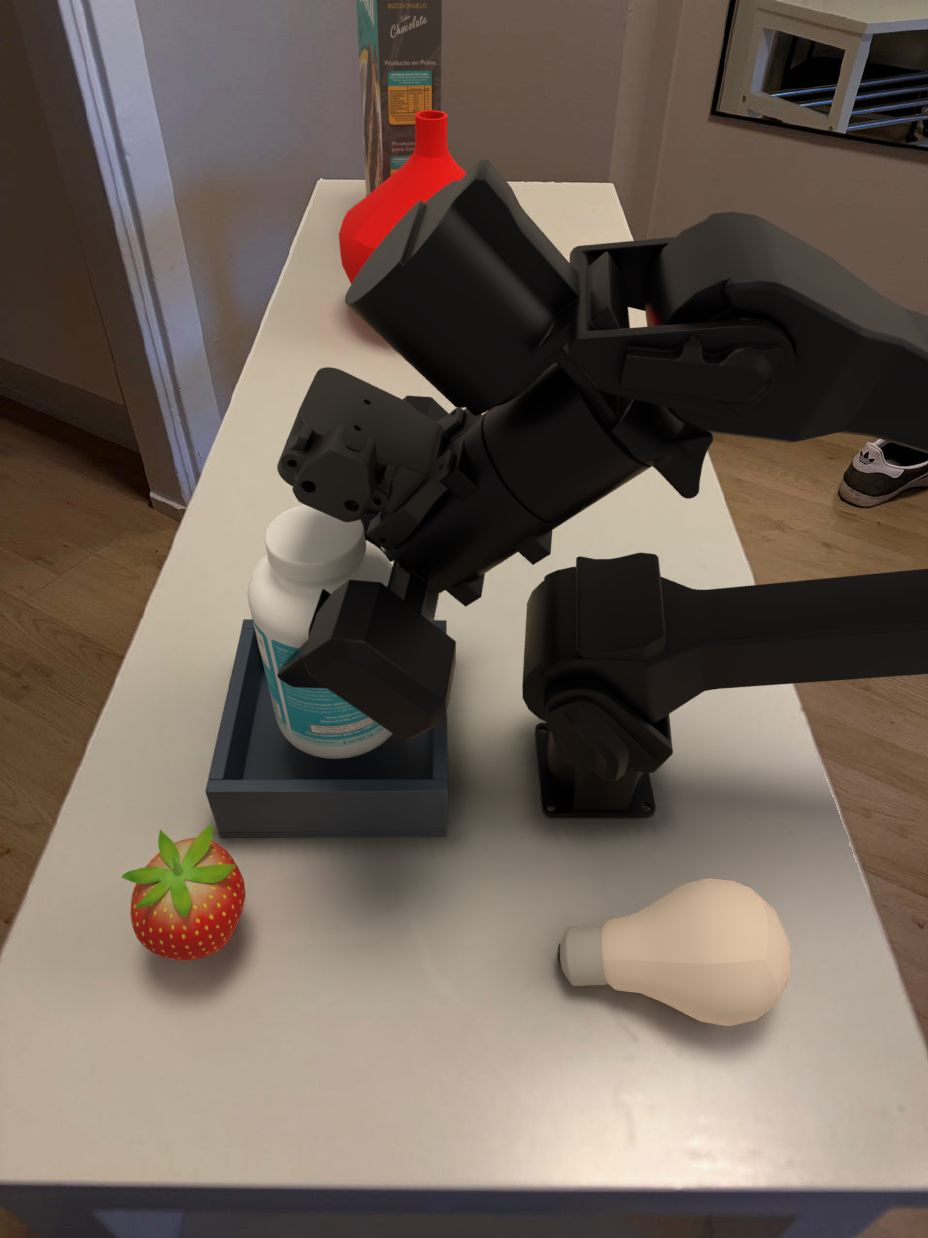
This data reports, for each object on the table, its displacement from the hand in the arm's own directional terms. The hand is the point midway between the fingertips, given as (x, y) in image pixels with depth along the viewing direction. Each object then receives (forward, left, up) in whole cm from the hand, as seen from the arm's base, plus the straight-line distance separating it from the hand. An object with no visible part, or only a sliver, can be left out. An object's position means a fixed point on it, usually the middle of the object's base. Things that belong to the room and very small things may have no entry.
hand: (304, 623), depth 46 cm
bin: (0, -1, -10) cm, 10 cm away
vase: (+56, -6, -11) cm, 57 cm away
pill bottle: (0, -1, -7) cm, 7 cm away
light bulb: (-14, -18, -11) cm, 25 cm away
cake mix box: (+76, -2, -11) cm, 76 cm away
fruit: (-12, +5, -11) cm, 17 cm away
